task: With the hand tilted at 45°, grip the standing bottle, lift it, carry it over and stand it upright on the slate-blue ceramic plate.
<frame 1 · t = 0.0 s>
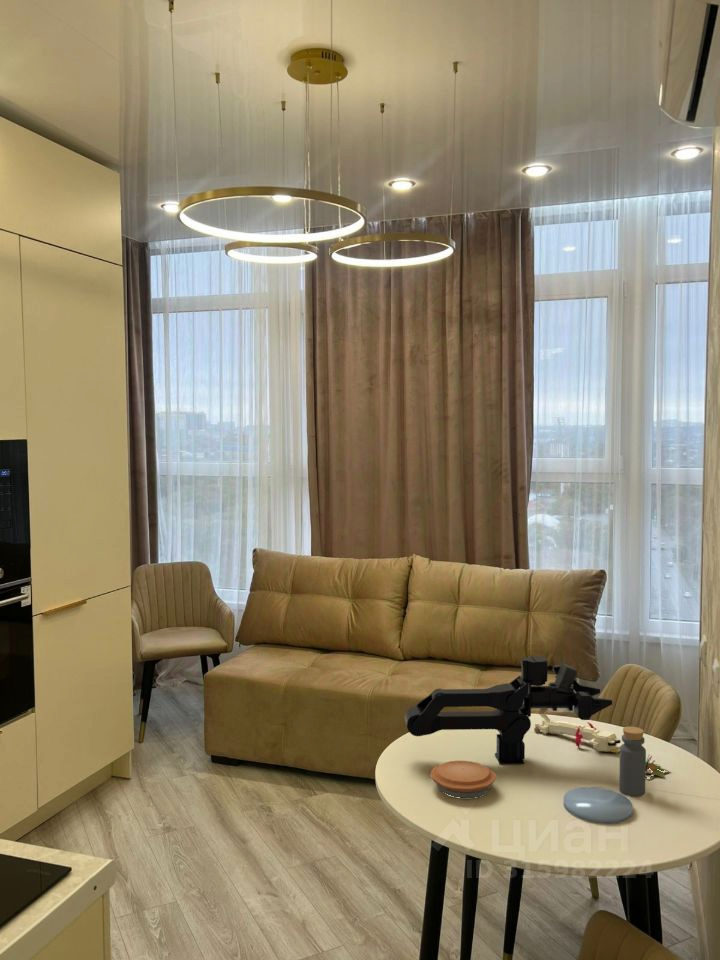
hand: (606, 696, 208), 17 cm above the table, tool horizontal, fingers open, 9 cm apart
pie: (462, 790, 191), on the table
cat figure: (577, 743, 221), on the table
dish: (597, 807, 181), on the table
bottle: (632, 792, 189), on the table
lily flower: (645, 773, 201), on the table
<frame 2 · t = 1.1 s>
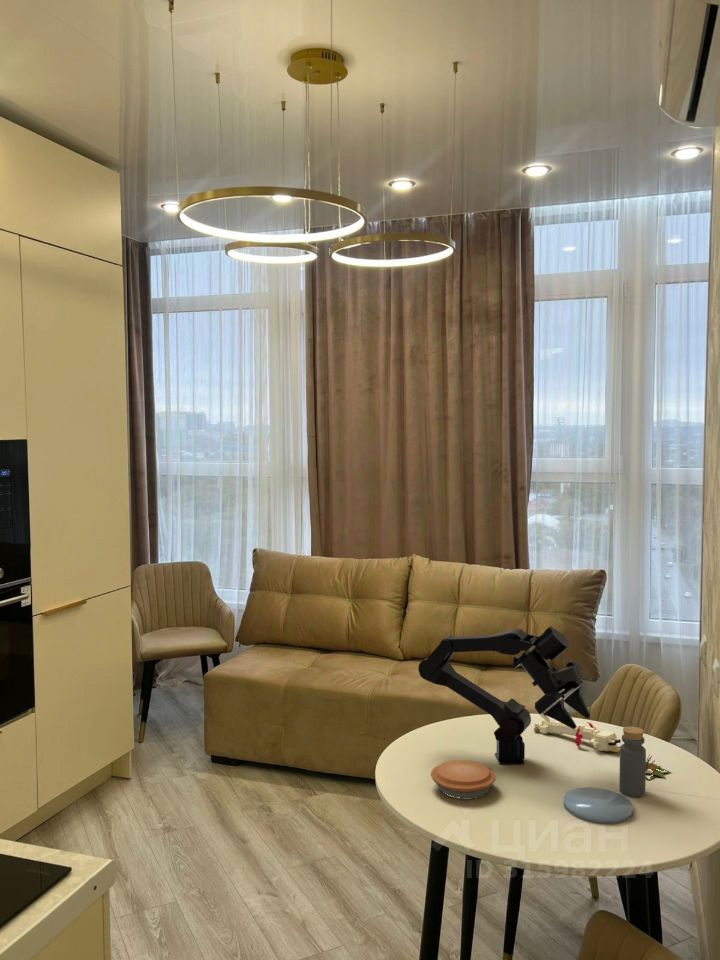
hand: (582, 722, 197), 14 cm above the table, tool tilted 45°, fingers open, 9 cm apart
nothing on the table moved.
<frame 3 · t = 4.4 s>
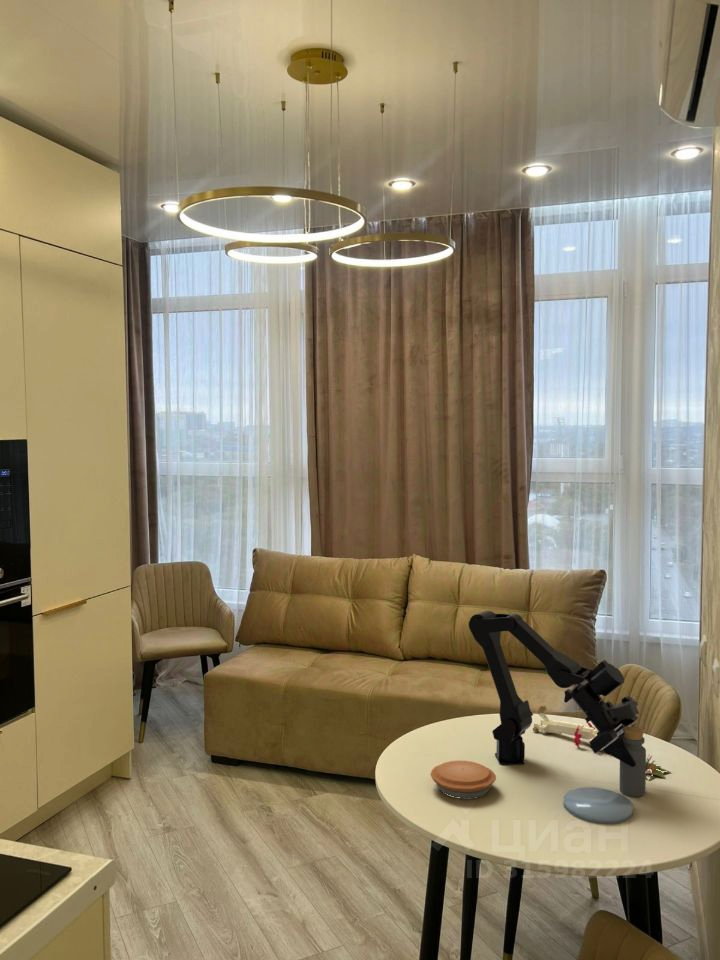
hand: (638, 761, 188), 8 cm above the table, tool tilted 45°, fingers closed on bottle, 6 cm apart
bottle: (632, 792, 189), on the table, touching gripper
everything else where it was.
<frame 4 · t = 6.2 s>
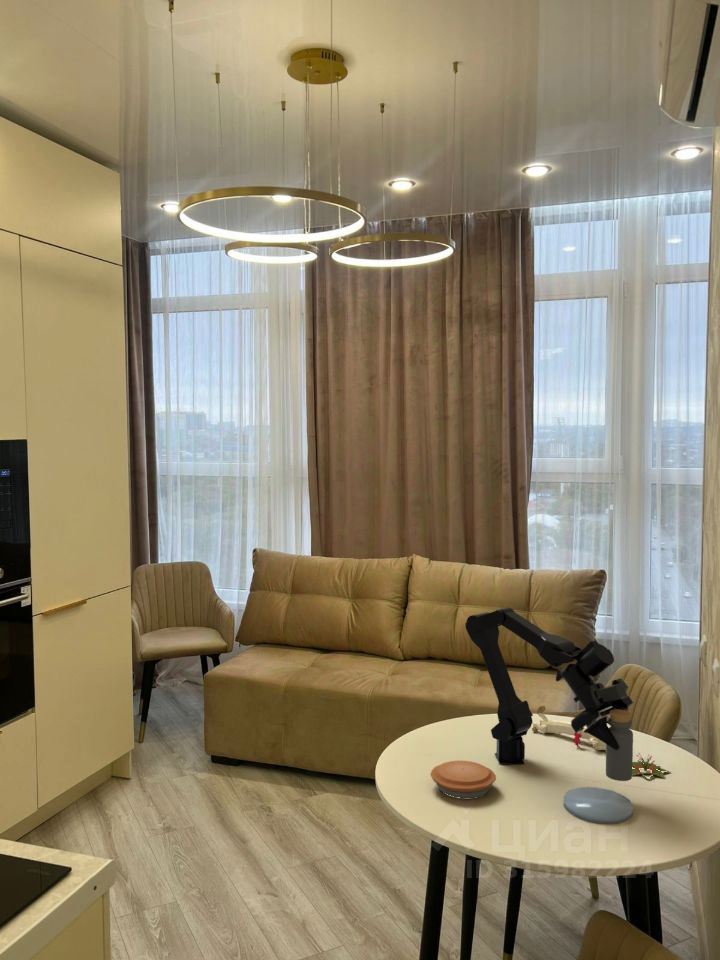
hand: (624, 745, 183), 13 cm above the table, tool tilted 45°, fingers closed on bottle, 6 cm apart
bottle: (618, 776, 184), point 5 cm above the table, touching gripper
everything else where it was.
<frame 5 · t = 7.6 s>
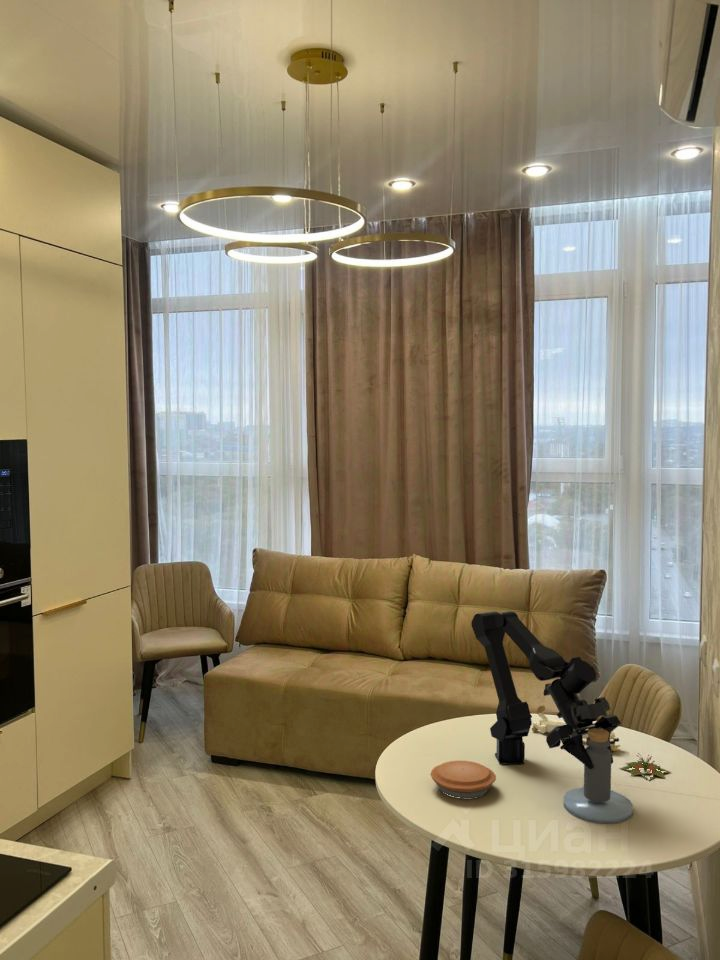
hand: (602, 765, 179), 10 cm above the table, tool tilted 45°, fingers closed on bottle, 6 cm apart
bottle: (596, 797, 181), point 2 cm above the table, touching gripper
everything else where it was.
when the fingers open (10 cm above the table, at t = 8.0 s): bottle stays where it is, resting on dish.
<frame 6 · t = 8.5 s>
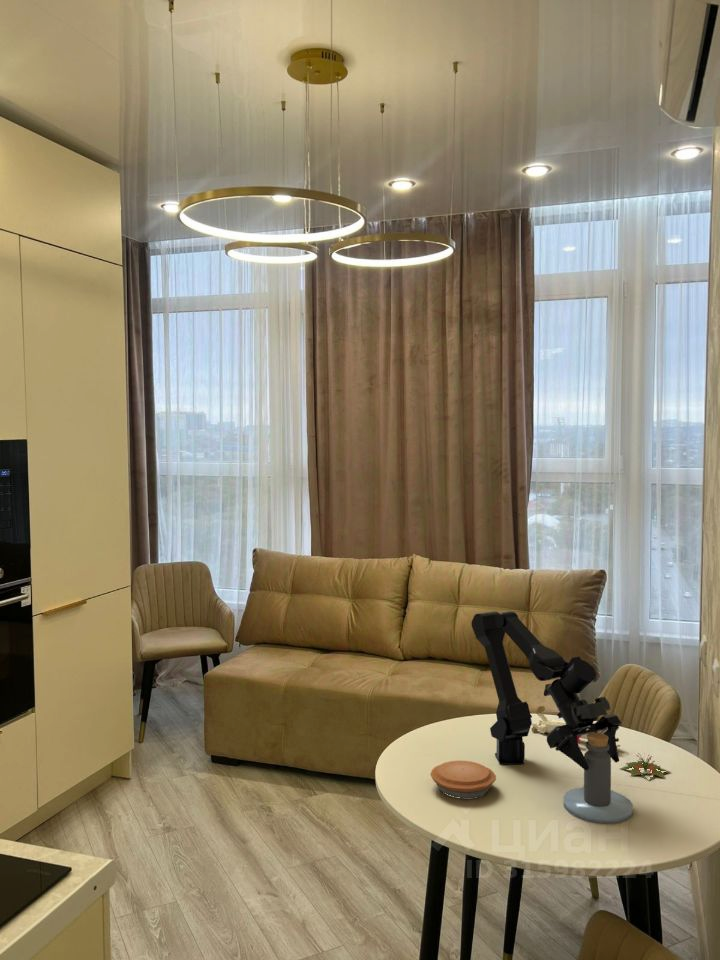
hand: (602, 765, 179), 10 cm above the table, tool tilted 45°, fingers open, 9 cm apart
bottle: (597, 801, 181), point 1 cm above the table, touching dish
everything else where it was.
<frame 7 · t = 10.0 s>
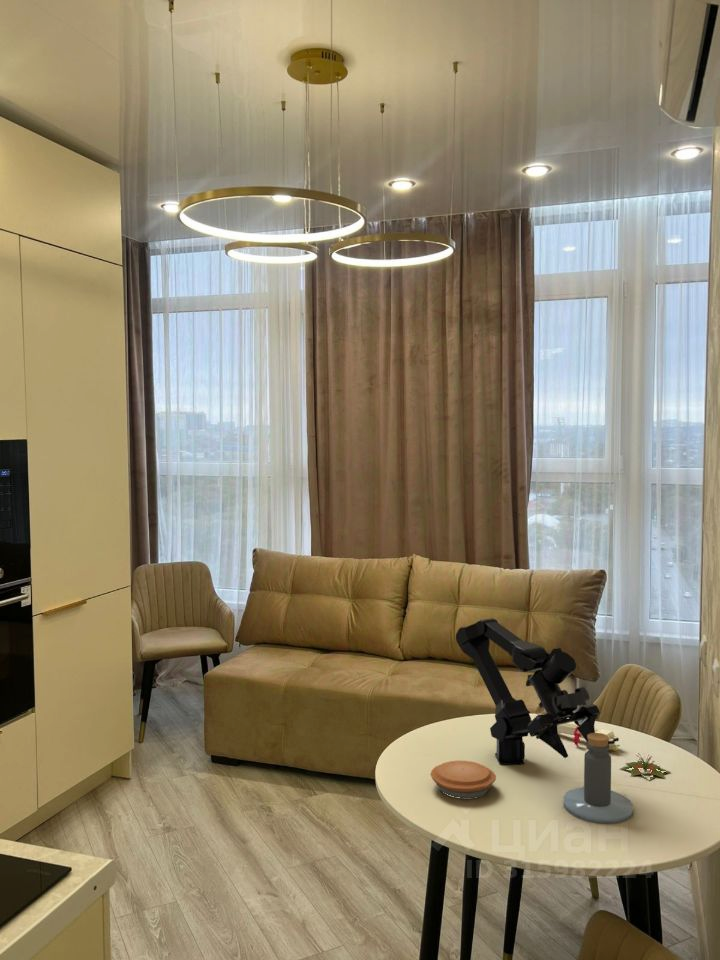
hand: (581, 753, 185), 11 cm above the table, tool tilted 45°, fingers open, 9 cm apart
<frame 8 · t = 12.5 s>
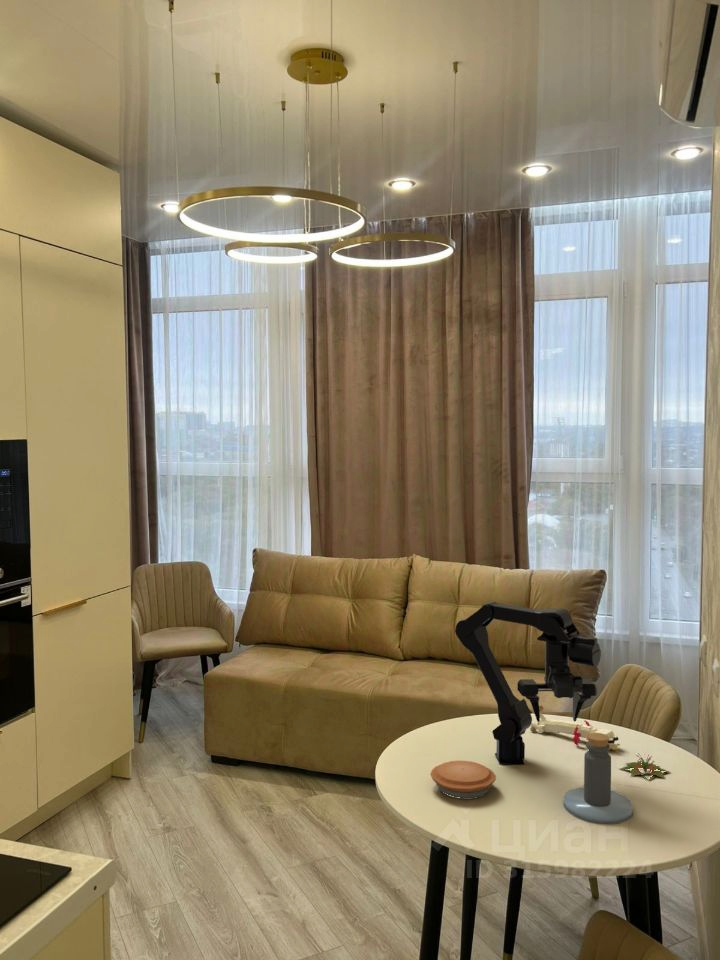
hand: (556, 721, 200), 13 cm above the table, tool pointing down, fingers open, 9 cm apart
at the end: bottle inside the target area on the dish (0.1 cm from its centre), point 1.3 cm above the dish's base; bottle tilted 0°; the gripper is holding nothing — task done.
